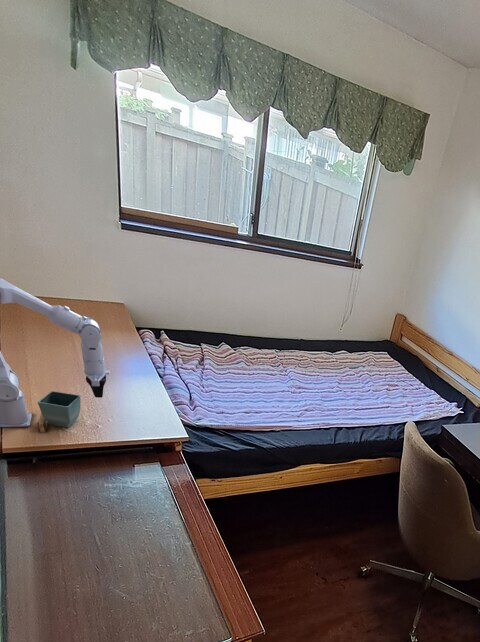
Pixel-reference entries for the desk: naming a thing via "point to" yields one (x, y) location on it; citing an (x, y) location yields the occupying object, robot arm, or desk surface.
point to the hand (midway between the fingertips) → (98, 396)
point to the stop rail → (42, 423)
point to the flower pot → (60, 408)
